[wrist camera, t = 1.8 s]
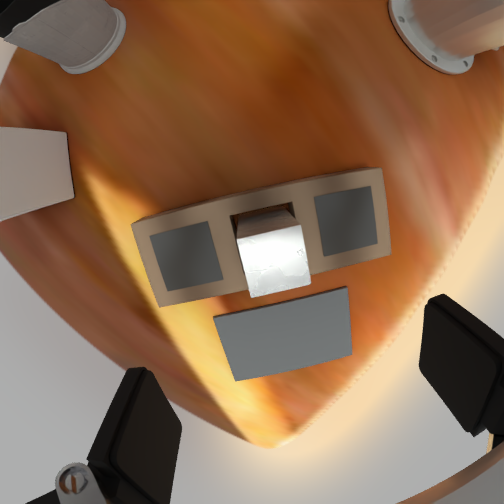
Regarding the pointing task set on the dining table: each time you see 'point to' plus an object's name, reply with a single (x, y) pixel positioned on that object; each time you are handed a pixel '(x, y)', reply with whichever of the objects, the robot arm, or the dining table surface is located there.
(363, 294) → the dining table surface
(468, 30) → the robot arm
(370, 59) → the dining table surface
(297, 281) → the grey rectangular block
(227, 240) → the rail
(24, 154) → the milk carton
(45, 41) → the glass holder
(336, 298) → the mat
